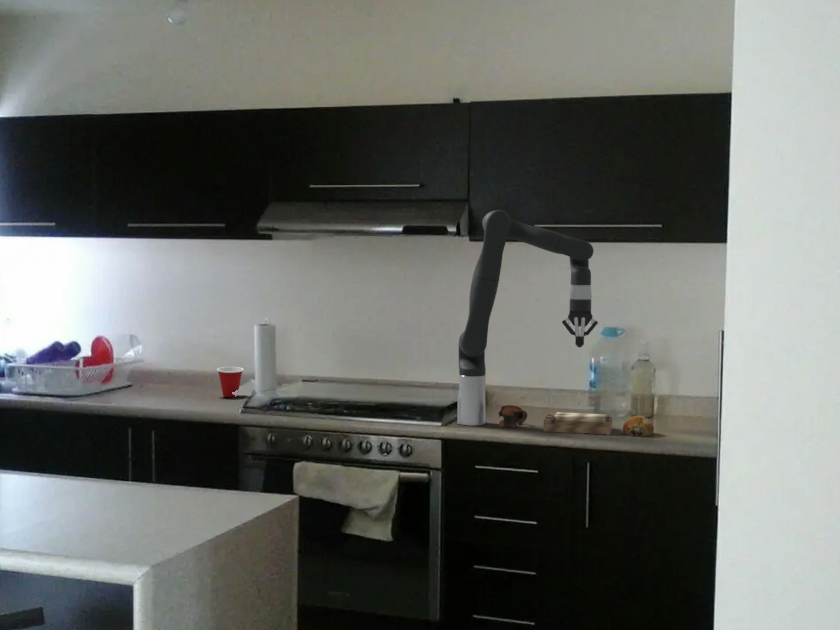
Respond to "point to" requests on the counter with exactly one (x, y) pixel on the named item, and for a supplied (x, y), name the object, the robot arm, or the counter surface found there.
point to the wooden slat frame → (577, 425)
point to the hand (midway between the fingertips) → (579, 347)
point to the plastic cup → (229, 379)
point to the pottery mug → (512, 416)
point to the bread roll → (638, 426)
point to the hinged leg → (583, 417)
